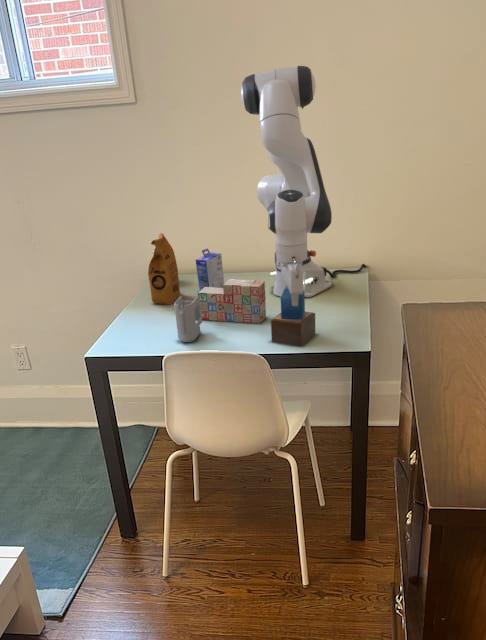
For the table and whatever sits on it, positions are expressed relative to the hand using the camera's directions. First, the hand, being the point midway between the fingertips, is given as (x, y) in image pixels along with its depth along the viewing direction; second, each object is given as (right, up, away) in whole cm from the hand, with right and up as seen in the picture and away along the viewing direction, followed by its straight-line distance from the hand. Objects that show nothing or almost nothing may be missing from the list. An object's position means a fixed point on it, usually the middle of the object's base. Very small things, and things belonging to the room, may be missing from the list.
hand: (292, 300), depth 197 cm
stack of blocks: (-18, 0, +25) cm, 30 cm away
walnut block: (+1, -10, +7) cm, 12 cm away
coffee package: (-43, +13, +46) cm, 64 cm away
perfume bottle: (0, -4, +3) cm, 5 cm away
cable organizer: (-31, -8, +13) cm, 35 cm away
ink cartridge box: (-27, +18, +53) cm, 62 cm away
